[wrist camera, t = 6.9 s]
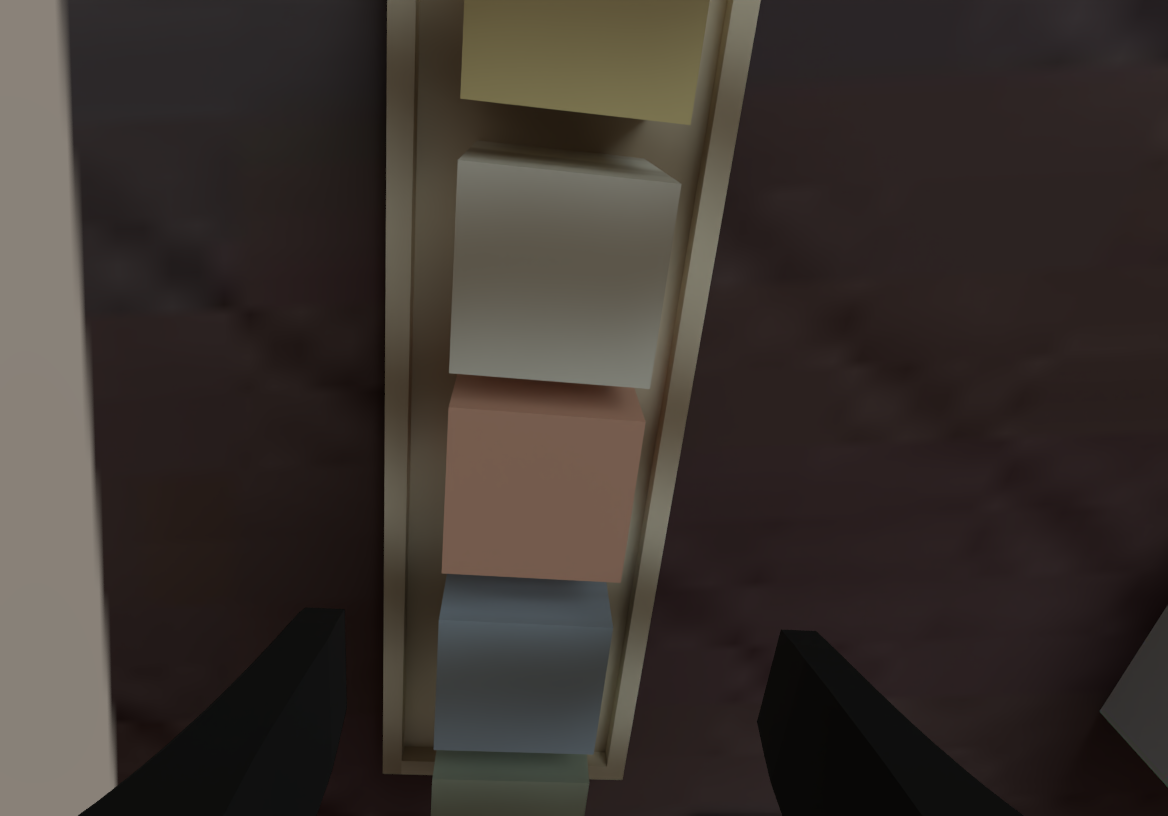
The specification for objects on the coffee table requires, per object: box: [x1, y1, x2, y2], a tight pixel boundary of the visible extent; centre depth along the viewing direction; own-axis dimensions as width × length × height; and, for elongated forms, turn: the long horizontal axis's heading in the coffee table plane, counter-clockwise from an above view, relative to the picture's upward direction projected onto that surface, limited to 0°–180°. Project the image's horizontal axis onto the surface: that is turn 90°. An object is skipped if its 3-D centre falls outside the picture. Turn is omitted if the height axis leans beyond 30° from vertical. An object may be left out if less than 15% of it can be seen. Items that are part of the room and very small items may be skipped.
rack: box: [383, 0, 761, 816], centre depth 19 cm, size 26×8×6 cm, turn 174°
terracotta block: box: [442, 374, 646, 583], centre depth 18 cm, size 4×4×5 cm
